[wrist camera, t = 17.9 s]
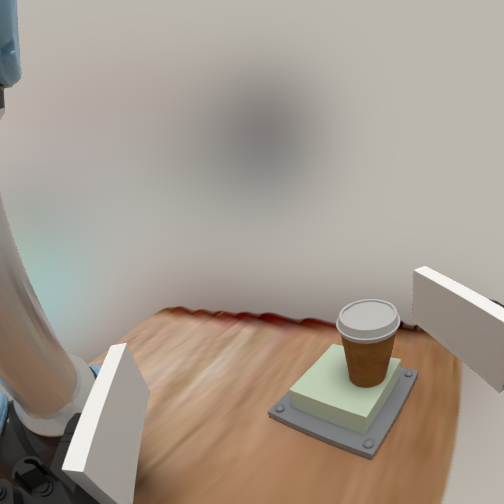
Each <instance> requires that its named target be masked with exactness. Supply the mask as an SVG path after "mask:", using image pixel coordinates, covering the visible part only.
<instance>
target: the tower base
mask: <svg viewBox="0 0 504 504" xmlns="http://www.w3.org/2000/svg"><path fill="white" fill-rule="evenodd" d="M345 357H346V356H345V352H344V347H343V346H340V345H336V344H332V346H331V347H330V348H329V349H328V350H327V351H326V352H325V353H324V354H323V355H322V356H321V357H320V358H319V360H318V361H317V362H316V363H315V364H314V365H313V366H312V367H311V368H310V369H309V370H308V371H307V372H306V373H305V374H304V375H303V376H302V377H301V378H300V379H299V380H298V381H297V382H296V383H295V384H294V385H293V386H292V387H291V388H290V389H289V392H288V393H287V394H286V395H285V396H284V397H283V398H281V399H280V400H279V401H278V402H277V403H276V404H275V405H274V406H273V407H272V408H271V409H270V410H269V411H268V414H269V417H271V418H273V419H275V420H277V421H279V422H281V423H283V424H285V425H287V426H289V427H292V428H294V429H296V430H298V431H300V432H303V433H305V434H307V435H309V436H312V437H314V438H316V439H319V440H321V441H323V442H326V443H328V444H331V445H333V446H336V447H338V448H341V449H344V450H346V451H349V452H352V453H354V454H357V455H360V456H363V457H365V458H368V459H371V460H372V459H373V457H374V455H375V454H376V452H377V451H378V449H379V448H380V446H381V444H382V443H383V441H384V439H385V438H386V436H387V434H388V433H389V431H390V429H391V427H392V426H393V424H394V422H395V420H396V418H397V417H398V415H399V413H400V411H401V409H402V407H403V405H404V403H405V401H406V399H407V397H408V395H409V393H410V391H411V389H412V387H413V385H414V383H415V381H416V379H417V376H418V371H417V370H412V369H407V368H402V367H400V364H401V359H396V358H390V362H389V366H388V370H387V374H386V378H385V379H384V381H383V382H382V383H380V384H379V385H377V386H374V387H369V388H363V387H359V386H356V385H354V384H353V383H352V382H351V381H350V378H349V373H348V367H347V362H346V358H345Z"/></svg>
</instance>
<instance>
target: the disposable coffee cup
mask: <svg viewBox="0 0 504 504" xmlns="http://www.w3.org/2000/svg"><path fill="white" fill-rule="evenodd" d="M399 325H400V316H399V315H398V313H397V310H396V308H395V306H394V305H392V304H391V303H389V302H387V301H383V300H379V299H365V300H359V301H356V302H353V303H350V304H349V305H347V306H345V307H344V308H343V309H342V310H341V312H340V314H339V318H338V319H337V322H336V326H337V329H338V331H339V332H340V334H341V337H342V343H343V347H344V352H345V356H346V357H345V358H346V362H347V367H348V373H349V378H350V381H351V382H352V383H353V384H354V385H356V386H359V387H363V388H369V387H374V386H377V385H379V384H380V383H382V382H383V381H384V379H385V378H386V374H387V370H388V366H389V362H390V358H391V353H392V349H393V344H394V339H395V334H396V330H397V329H398V327H399Z"/></svg>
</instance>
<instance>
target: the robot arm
mask: <svg viewBox="0 0 504 504" xmlns="http://www.w3.org/2000/svg"><path fill="white" fill-rule="evenodd" d="M17 20H18V19H17V0H0V119H1V118H2V116H3V115H4V113H5V107H4V88H8V87H12V86H13V85H14V84H15V83H17V82H18V81H19V80H20V78H21V66H20V48H19V36H18V21H17ZM413 272H414V273H413V304H412V321H413V322H415V323H416V324H417V325H418V326H420V327H421V328H422V329H423V330H425V331H426V332H427V333H428V334H430V335H431V336H432V337H433V338H435V339H436V340H437V341H438V342H440V343H441V344H442V345H443V346H444V347H446V348H447V349H448V350H449V351H451V352H452V353H453V354H454V355H455V356H457V357H458V358H459V359H460V360H461V361H463V362H464V363H465V364H466V365H467V366H468V367H470V368H471V369H472V370H473V371H475V372H476V373H477V374H478V375H479V376H480V377H481V378H483V379H484V380H485V381H486V382H487V383H488V384H489V385H491V386H492V387H493V388H494V389H495V390H496V391H498V392H499V393H500V392H501V391H503V390H504V305H502V304H500V303H499V302H497V301H494V300H490V299H487V298H485V297H483V296H481V295H480V294H478V293H476V292H474V291H472V290H470V289H468V288H467V287H465V286H463V285H461V284H459V283H457V282H455V281H453V280H451V279H450V278H448V277H446V276H444V275H442V274H440V273H438V272H436V271H434V270H432V269H430V268H428V267H426V266H424V267H421V268H418V269H416V270H414V271H413ZM0 384H1V385H2V386H3V387H4V388H5V389H6V391H7V392H8V393H9V394H10V395H11V396H12V397H13V398H14V399H13V400H11V401H8V398H7V396H6V395H5V394H3V393H2V392H1V391H0V504H133V497H134V488H135V480H136V472H137V465H138V458H139V451H140V444H141V438H142V432H143V426H144V420H145V414H146V409H147V403H148V398H149V393H150V391H149V389H148V387H147V385H146V383H145V381H144V379H143V377H142V375H141V373H140V371H139V369H138V367H137V365H136V362H135V360H134V358H133V356H132V354H131V352H130V349H129V347H128V345H127V343H124V344H118V345H112V346H111V347H110V349H109V352H108V354H107V356H106V358H105V360H104V362H103V365H102V366H100V365H95V366H92V365H90V366H88V365H87V364H86V363H85V362H84V361H83V360H82V359H80V358H79V357H77V356H75V355H72V354H69V353H66V351H65V350H64V348H63V346H62V345H61V343H60V341H59V339H58V337H57V336H56V334H55V332H54V330H53V329H52V326H51V325H50V323H49V321H48V319H47V317H46V315H45V313H44V311H43V309H42V307H41V305H40V303H39V301H38V298H37V296H36V294H35V292H34V290H33V287H32V285H31V283H30V281H29V278H28V276H27V273H26V271H25V268H24V266H23V263H22V261H21V258H20V255H19V253H18V250H17V247H16V245H15V242H14V239H13V236H12V233H11V230H10V227H9V223H8V220H7V217H6V213H5V210H4V206H3V203H2V199H1V195H0Z"/></svg>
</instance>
